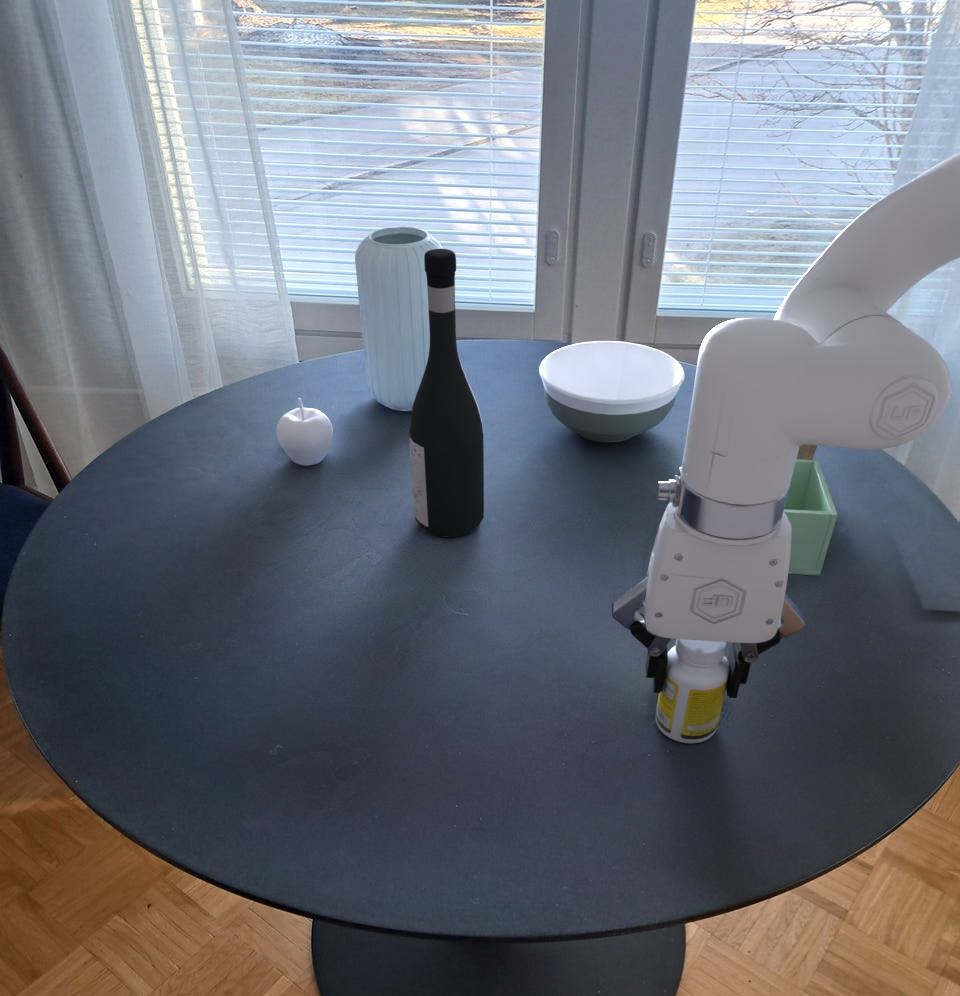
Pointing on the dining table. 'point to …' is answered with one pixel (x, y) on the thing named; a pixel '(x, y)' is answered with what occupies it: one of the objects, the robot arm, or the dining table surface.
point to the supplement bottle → (693, 690)
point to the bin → (809, 517)
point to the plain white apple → (305, 435)
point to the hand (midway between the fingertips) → (693, 682)
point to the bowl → (610, 388)
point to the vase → (394, 312)
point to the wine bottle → (445, 420)
